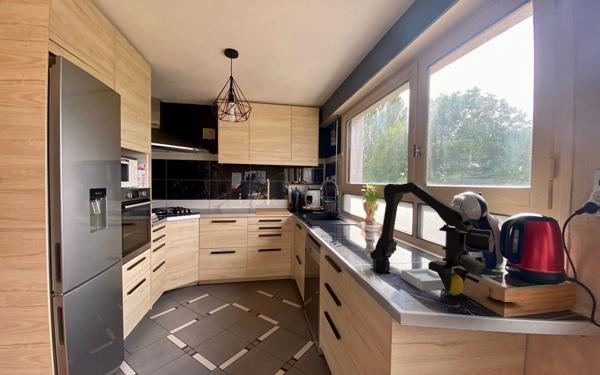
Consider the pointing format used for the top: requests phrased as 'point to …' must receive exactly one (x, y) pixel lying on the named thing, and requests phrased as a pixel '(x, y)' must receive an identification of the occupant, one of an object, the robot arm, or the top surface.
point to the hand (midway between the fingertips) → (453, 289)
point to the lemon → (456, 285)
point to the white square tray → (423, 279)
